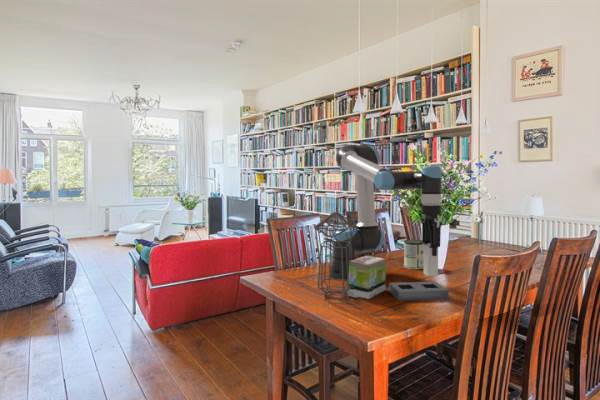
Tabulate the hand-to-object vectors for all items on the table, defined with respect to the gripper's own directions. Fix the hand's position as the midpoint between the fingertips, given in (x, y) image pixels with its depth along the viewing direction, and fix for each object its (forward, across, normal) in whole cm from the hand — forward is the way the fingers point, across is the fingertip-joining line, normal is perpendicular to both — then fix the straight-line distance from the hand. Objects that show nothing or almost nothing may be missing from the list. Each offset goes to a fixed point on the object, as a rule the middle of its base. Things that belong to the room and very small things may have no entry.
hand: (430, 262), depth 152 cm
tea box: (+14, +6, +25) cm, 29 cm away
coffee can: (+14, +48, -12) cm, 52 cm away
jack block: (+14, 0, +5) cm, 15 cm away
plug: (+5, 0, 0) cm, 5 cm away
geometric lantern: (+14, +5, +38) cm, 41 cm away
